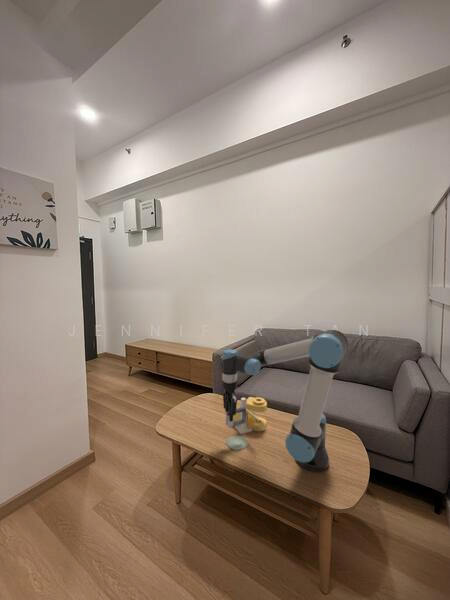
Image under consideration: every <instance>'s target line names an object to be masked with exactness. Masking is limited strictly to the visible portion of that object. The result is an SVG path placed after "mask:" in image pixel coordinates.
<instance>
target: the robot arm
mask: <svg viewBox="0 0 450 600" xmlns="http://www.w3.org/2000/svg"><path fill="white" fill-rule="evenodd" d="M348 349H349V340H348V338H347V336H346V335H345V334H344V333H343V332H341V331H339V330H335V329H328V330H326V331H323V332H321V333H318V334H315V335H313V336H312V337H311V338H307V339H303V340H300V341H299V340H298V341H296V342H292V343H288V344H284V345H279V346H276V347H271V348H268V349H260V350H257V351H255V352H254V353H252V354H249V355H247V356H240V355H238V350H236V349H233V348H232V349H224V350H223V351H222V359H221V360H222V361H221V363H222V373H221V374H222V375H221V376H222V377H221V378H222V382H221V384H222V387H221V388H222V389H221V391H222V400H223V410H224V411H225V425H226V426H227V419H228V426H227V427H228V428H231V426H233V415H236V409H237V402H238V399H239V398H238V397H236V396H235V395H236V394H235V391H236V390H237V389H238V373H242V374H245V375H249V376H257V375H258V374H259V373H260V371H261V367H264V366H268V365H273V364H279V363H283V362H288V361H293V360H297V359H301V358H308V362H307V363H308V364H309V366H310V369H309V374H308V376H307V377H308V378H307V381H306V385H305V389H304V394H303V396H302V397H303V398H302V400H301V404H300V408H299V412H298V415H297V416H296V417H294V419H293V420H292V425H291V427H290V428H291V429H290V432H289V434H288V435H287V436H286V437H285V443H284V444H285V448H286V451H288V453H289V455H290V456H291V457H292V458H293V459H294V460H295V461H296V463H297V464H298V465H299V466H300V467H301V468H304V469H305V470H307V471H311V472H323V471H325V470H327V469H328V468H329V466H330V458H329V455H328V451H327V448H326V432H327V431H326V430H327V426H326V425H327V418H326V416H325V414H324V410H325V407H326V402H327V398H328V396H329V392H330V387H331V384H332V381H333V377H334V376H335V374H339V373H340V369H341V365H342V362H343V359H344V357H345V354H346V353H347V352H348ZM228 411H229V414H228ZM233 427H234V426H233Z"/></svg>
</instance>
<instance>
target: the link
mask: <svg viewBox="0 0 450 600" xmlns="http://www.w3.org/2000/svg"><path fill="white" fill-rule="evenodd" d="M240 412H242V419H241V420H238V421H234V422H233V426H231V427H235V426H237V425H240V424H243V423H246V408H245V407H242V408H240V407H237V408H236V413H240ZM228 414H229V411H228ZM226 427H228V419H227V425H226ZM231 427H230V428H231Z"/></svg>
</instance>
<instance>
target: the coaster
mask: <svg viewBox="0 0 450 600" xmlns="http://www.w3.org/2000/svg"><path fill="white" fill-rule="evenodd" d="M248 445H249V444H248V439H247V438H246V437H244V436H242V435H238V434H237V435H232V436H229V437H228V438H227V440H226V446H227V447H228V448H230V449H232V450H235V451H240V450H243V449H245V448H247V446H248Z"/></svg>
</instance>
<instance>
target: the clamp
mask: <svg viewBox="0 0 450 600" xmlns="http://www.w3.org/2000/svg"><path fill="white" fill-rule="evenodd" d="M246 399H247V409H248V410H249V411H250V412H251V413H252V414H253V415H255V413H265V412H266V411H267V410H268V403H267V401H266V400H265V399H264V398H263V397H261V396H260V397H254V396H249V397H248V398H246ZM239 408H241V405H240V406H239ZM255 416H256V417H257V418H258V419H259V420H260V423H258V422H257V421H256V420H255V419H254V418H253V417H252V416H251V415H249V414H248V413H246V427H249V428H251V429H252V431H253V432H254V431H255V432H261V433H262V432H264V431H266V430H267V420H266V419H265V418H264V417H260V416H257V415H255ZM238 420H241V412H240V413H236V415H233V422H234V421H238ZM240 425H241V424H240Z"/></svg>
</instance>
